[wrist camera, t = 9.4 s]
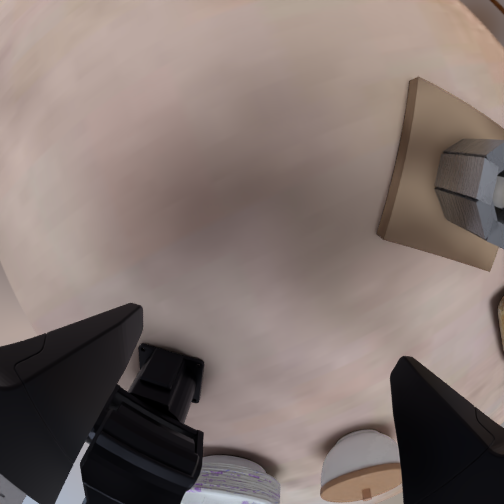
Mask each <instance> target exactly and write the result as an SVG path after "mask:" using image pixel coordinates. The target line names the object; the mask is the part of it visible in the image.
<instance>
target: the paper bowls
mask: <svg viewBox="0 0 504 504" xmlns="http://www.w3.org/2000/svg"><path fill="white" fill-rule="evenodd" d="M279 503H280V483H279V482H278V481H277V480H276V479H275V478H274V477H272V476H270V475H269V474H266V472H265V470H264V469H263V468H262V467H261V466H260V465H258V464H257V463H255V462H253V461H250V460H247V459H244V458H240V457H235V456H227V455H212V456H206V457H203V459H202V469H201V472H200V475H199V477H198V479H197V481H196V483H195V484H194V486H193V487H192V488H191V489H190V490H188V491H186V492H185V494H184V496H183V499H182V501H181V504H279Z"/></svg>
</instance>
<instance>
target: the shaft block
mask: <svg viewBox="0 0 504 504" xmlns="http://www.w3.org/2000/svg"><path fill="white" fill-rule="evenodd" d="M461 139H496V140H504V129H503V128H502V127H501V126H499V125H498V124H497V123H495V122H494V121H493V120H491V119H490V118H488V117H487V116H486V115H484V114H483V113H481V112H480V111H478V110H477V109H475V108H474V107H472V106H471V105H469V104H467V103H466V102H464V101H463V100H461V99H459V98H458V97H456V96H454V95H452V94H451V93H449V92H447V91H445V90H444V89H442V88H440V87H438V86H436V85H434V84H432V83H430V82H428V81H426V80H424V79H422V78H420V77H417V78H415V79H413V80H411V81H410V83H409V91H408V98H407V105H406V112H405V118H404V124H403V129H402V135H401V140H400V145H399V150H398V155H397V159H396V164H395V168H394V172H393V176H392V181H391V185H390V188H389V192H388V196H387V200H386V203H385V207H384V211H383V214H382V218H381V221H380V224H379V228H378V231H377V234H378V235H379V236H380V237H381V238H382V239H383V240H386V241H390V242H394V243H397V244H401V245H404V246H408V247H411V248H415V249H418V250H422V251H425V252H428V253H432V254H435V255H438V256H442V257H445V258H448V259H451V260H455V261H458V262H461V263H464V264H467V265H470V266H474V267H477V268H480V269H483V270H486V271H489V272H490V270H491V268H492V265H493V262H494V260H495V257H496V254H497V251H498V248H499V247H498V246H496V245H494V244H491V243H489V242H487V241H485V240H483V239H482V238H480V237H478V236H476V235H474V234H472V233H471V232H469V231H467V230H465V229H463V228H461V227H459V226H457V225H455V224H453V223H451V222H449V221H447V219H446V218H445V217H444V214H443V211H442V208H441V206H440V203H439V200H438V197H437V195H436V192H435V190H434V189H435V188H436V186H434V184H435V179H436V175H437V171H438V166H439V162H440V157H441V154H444V153H443V151H444V150H445V149H447V148H449V147H450V146H452V145H453V144H455V143H457V142H458V141H460V140H461ZM492 199H493V203H494V206H496V207H498V208H504V177H500V176H497V180H496V185H495V190H494V194H493V198H492Z"/></svg>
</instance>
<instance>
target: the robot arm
mask: <svg viewBox="0 0 504 504" xmlns="http://www.w3.org/2000/svg"><path fill="white" fill-rule="evenodd" d="M142 330H143V308H142V306H141V305H138V304H134V303H128V304H125V305H123V306H120V307H117V308H114V309H112V310H109V311H106V312H103V313H101V314H98V315H95V316H92V317H89V318H87V319H84V320H81V321H78V322H76V323H73V324H70V325H67V326H64V327H62V328H59V329H56V330H53V331H50V332H48V333H47V334H46V333H44V334H42V335H39V336H36V337H33V338H30V339H27V340H24V341H20V342H17V343H13V344H10V345H5V346H1V347H0V504H22V502H23V500H24V499H25V497H26V495H28V496H29V497H31V498H32V499H33V500H35V501H36V502H38V503H39V504H55V502H56V500H57V498H58V495H59V493H60V491H61V489H62V487H63V485H64V483H65V480H66V479H67V477H68V474H69V472H70V470H71V468H72V466H73V463H74V462H75V460H76V458H77V456H78V454H79V452H80V450H81V448H82V446H83V444H84V443H85V442H87V443H89V444H90V445H89V447H88V449H87V451H86V453H85V454H84V456H83V458H82V460H81V462H80V468H81V474H82V481H83V486H84V491H85V496H86V497H85V499H84V501H83V503H82V504H181V501H182V499H183V496H184V494H185V492H186V491H188V490H190V489H191V488H192V487H193V486H194V484H195V483H196V481H197V479H198V477H199V475H200V472H201V469H202V459H203V435H204V433H203V432H202V431H199V430H195V429H193V428H191V427H189V426H187V425H185V424H184V422H185V419H186V416H187V413H188V410H189V407H190V404H191V402H192V403H198V402H199V400H200V393H201V385H202V377H203V369H204V362H203V361H202V360H199V359H195V358H192V357H188V356H184V355H181V354H177V353H174V352H170V351H167V350H163V349H160V348H157V347H154V346H151V345H147V344H144V343H142V344H140V346H139V348H138V349H139V362H140V371H139V373H138V375H137V377H136V378H135V380H134V382H133V383H132V385H131V387H130V389H129V390H128V392H127V391H126V390H124V389H122V388H121V387H120V385H118V384H117V383H118V381H119V379H120V378H121V376H122V374H123V373H124V371H125V369H126V367H127V365H128V363H129V360H130V358H131V356H132V353H133V351H134V349H135V347H136V344H137V342H138V340H139V338H140V336H141V333H142ZM143 348H144V349H143ZM197 364H199V365H197ZM390 384H391V395H392V408H393V416H394V423H395V429H396V435H397V442H398V449H399V457H400V466H401V476H402V487H403V502H404V504H504V428H503V427H501V426H500V425H498V424H497V423H496V422H494V421H493V420H492V419H490V418H489V417H488V416H486V415H485V414H484V413H482V412H481V411H480V410H479V409H477V408H476V407H474V405H472V404H471V403H470V402H469V401H467V400H466V399H465V398H464V397H462V396H461V395H460V394H459V393H457V392H456V391H455V390H454V389H452V388H451V387H450V386H449V385H447V384H446V383H445V382H444V381H442V380H441V379H440V378H438V377H437V376H436V375H435V374H433V373H432V372H431V371H430V370H428V369H427V368H426V367H424V366H423V365H422V364H421V363H419V362H418V361H417V360H416V359H414V358H413V357H410V356H402V357H401V358H400V359H399V361H398V362H397V364H396V366H395V367H394V369H393V370H392V372H391V375H390Z"/></svg>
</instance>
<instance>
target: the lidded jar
mask: <svg viewBox="0 0 504 504" xmlns="http://www.w3.org/2000/svg"><path fill="white" fill-rule="evenodd" d="M401 483H402V476H401V466H400V457H399V449H398V444H397V443H396V442H395V441H394V440H393V439H392V438H390V437H389V436H387V435H385V434H382V433H379V432H378V431H376V430H372V429H366V430H359V431H355V432H352V433H350V434H347V435H345V436H344V437H342V438H341V439H339V440H338V441H337V443H336V445H335V446H334V447H333V448H332V449H331V450H330V452H329V453H328V454H327V456H326V458H325V460H324V463H323V467H322V473H321V490H320V495H321V498H322V499H324V500H326V501H329V502H352V501H358V500H363V501H368V500H370V499H372V497H374V496H377V495H380V494H382V493H385V492H387V491H389V490H391V489H393V488H395V487H397V486H398V485H400V484H401Z"/></svg>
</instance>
